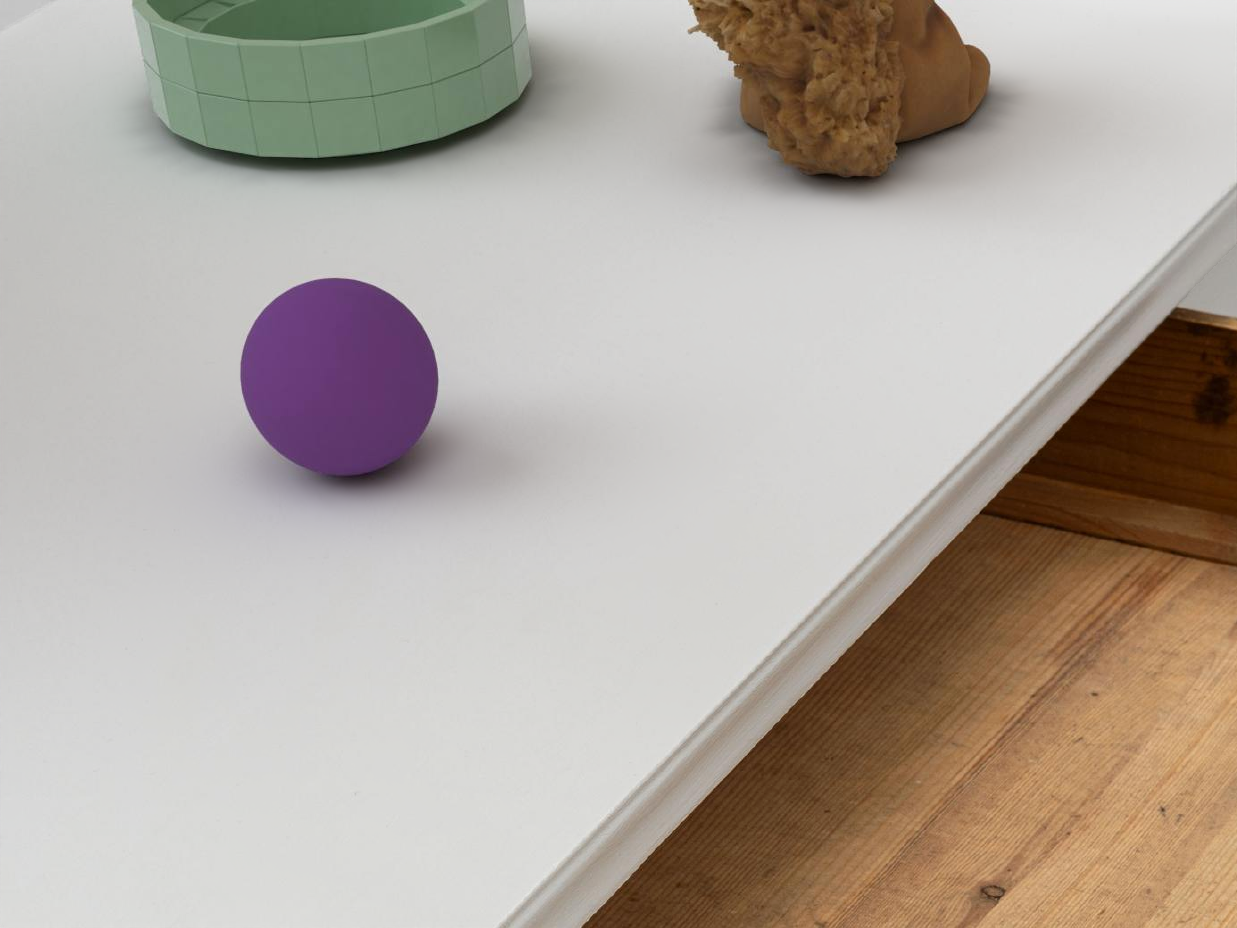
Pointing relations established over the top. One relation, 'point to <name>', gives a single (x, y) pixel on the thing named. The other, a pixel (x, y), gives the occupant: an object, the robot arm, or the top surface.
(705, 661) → the top surface
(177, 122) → the bowl
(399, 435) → the ball
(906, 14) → the stuffed squirrel
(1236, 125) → the top surface
